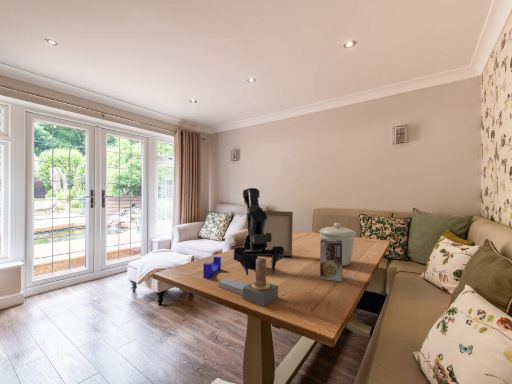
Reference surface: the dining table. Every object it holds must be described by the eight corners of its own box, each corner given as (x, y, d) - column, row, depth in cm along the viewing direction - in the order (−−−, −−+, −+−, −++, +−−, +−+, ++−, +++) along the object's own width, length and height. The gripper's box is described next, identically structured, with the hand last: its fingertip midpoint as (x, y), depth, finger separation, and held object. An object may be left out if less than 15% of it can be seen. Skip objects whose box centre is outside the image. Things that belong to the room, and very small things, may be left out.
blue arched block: (211, 268, 115) (211, 256, 115) (220, 269, 114) (220, 256, 114) (200, 277, 103) (200, 263, 103) (209, 278, 102) (210, 264, 102)
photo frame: (291, 257, 134) (292, 212, 134) (253, 255, 137) (253, 211, 137) (292, 251, 148) (292, 210, 148) (257, 249, 152) (257, 209, 152)
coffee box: (341, 276, 106) (342, 240, 106) (342, 282, 100) (342, 243, 100) (320, 274, 109) (321, 238, 109) (319, 279, 103) (320, 241, 103)
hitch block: (230, 281, 99) (231, 271, 99) (277, 297, 86) (278, 285, 85) (215, 288, 92) (215, 277, 92) (263, 306, 79) (263, 294, 78)
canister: (320, 267, 118) (320, 224, 117) (317, 257, 136) (318, 219, 135) (359, 270, 115) (360, 226, 114) (351, 259, 132) (352, 220, 132)
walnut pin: (262, 291, 89) (263, 256, 89) (273, 297, 84) (273, 260, 84) (248, 295, 86) (248, 258, 85) (257, 302, 80) (258, 263, 80)
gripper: (234, 225, 89) (234, 264, 79) (283, 224, 91) (290, 263, 81) (233, 241, 97) (233, 279, 87) (278, 240, 99) (284, 277, 89)
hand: (260, 274), depth 86 cm, fingers open, 9 cm apart
